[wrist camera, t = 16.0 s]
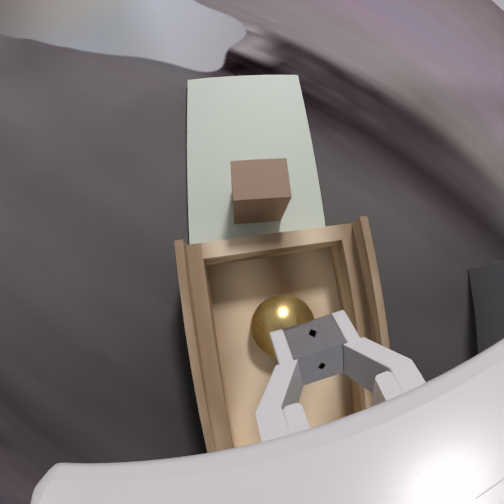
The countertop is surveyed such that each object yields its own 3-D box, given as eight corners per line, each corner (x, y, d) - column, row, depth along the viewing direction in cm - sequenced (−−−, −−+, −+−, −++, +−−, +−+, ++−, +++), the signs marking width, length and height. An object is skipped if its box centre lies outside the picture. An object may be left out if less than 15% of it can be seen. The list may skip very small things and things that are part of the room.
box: (222, 471, 24) (219, 503, 18) (187, 255, 28) (174, 240, 22) (370, 441, 25) (396, 464, 19) (343, 234, 29) (366, 215, 23)
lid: (191, 247, 28) (176, 226, 21) (189, 86, 32) (180, 41, 25) (323, 237, 29) (348, 214, 22) (295, 81, 32) (307, 37, 25)
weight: (255, 359, 26) (256, 362, 24) (246, 300, 27) (247, 299, 25) (314, 349, 26) (318, 351, 24) (305, 291, 27) (309, 289, 25)
